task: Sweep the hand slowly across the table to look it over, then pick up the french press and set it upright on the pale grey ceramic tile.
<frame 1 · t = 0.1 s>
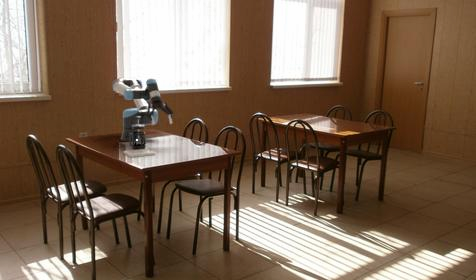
hand: (162, 123, 334), 15 cm above the table, tool tilted 35°, fingers open, 13 cm apart
ceramic tile: (139, 154, 306), on the table
french press: (138, 150, 319), on the table
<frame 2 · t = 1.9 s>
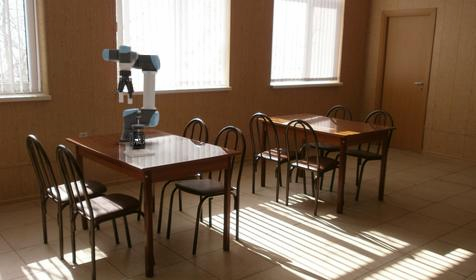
hand: (125, 103, 302), 33 cm above the table, tool pointing down, fingers open, 13 cm apart
nothing on the table moved.
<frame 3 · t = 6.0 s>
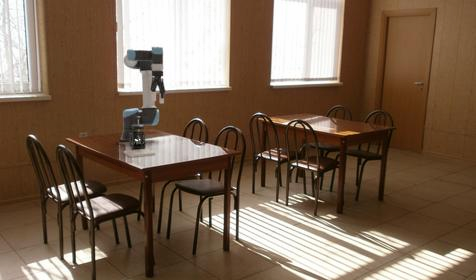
hand: (157, 102, 313), 33 cm above the table, tool pointing down, fingers open, 13 cm apart
nothing on the table moved.
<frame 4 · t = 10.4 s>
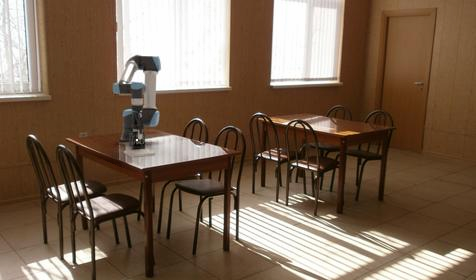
hand: (137, 137, 317), 8 cm above the table, tool pointing down, fingers closed on french press, 9 cm apart
french press: (138, 150, 319), on the table, touching gripper
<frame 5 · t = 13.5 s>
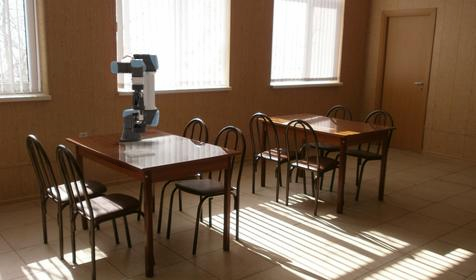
hand: (138, 118, 302), 23 cm above the table, tool pointing down, fingers closed on french press, 9 cm apart
french press: (138, 132, 303), point 15 cm above the table, touching gripper
when the fingers open (11 cm above the table, at t = 16.7 s): french press drops 1 cm, resting on ceramic tile.
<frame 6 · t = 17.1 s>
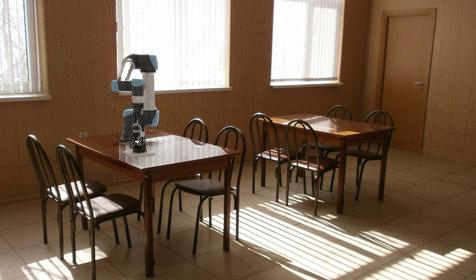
hand: (138, 134, 304), 13 cm above the table, tool pointing down, fingers open, 13 cm apart
french press: (139, 151, 306), point 2 cm above the table, touching ceramic tile
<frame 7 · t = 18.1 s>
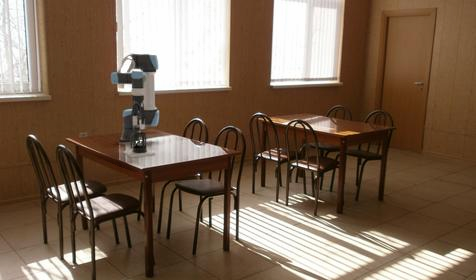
hand: (138, 127, 303), 18 cm above the table, tool pointing down, fingers open, 13 cm apart
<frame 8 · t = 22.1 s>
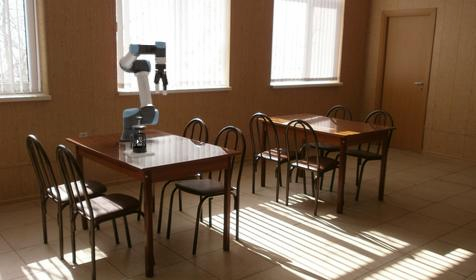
hand: (161, 94, 328), 37 cm above the table, tool pointing down, fingers open, 13 cm apart
nothing on the table moved.
at the end: french press inside the target area on the ceramic tile (0.0 cm from its centre), point 1.3 cm above the ceramic tile's base; french press tilted 0°; the gripper is holding nothing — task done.
